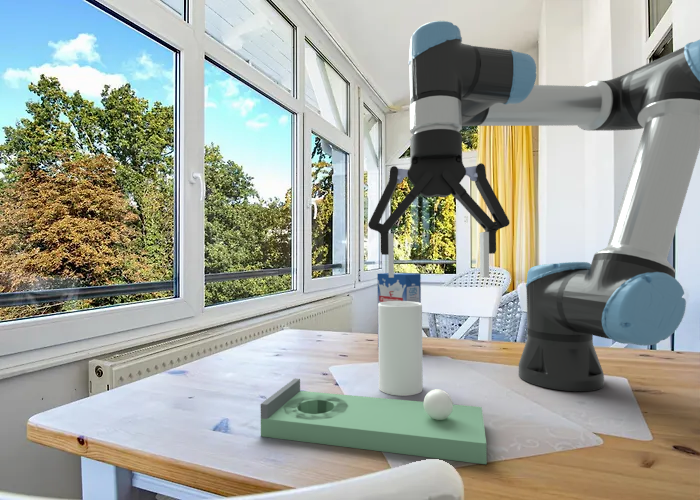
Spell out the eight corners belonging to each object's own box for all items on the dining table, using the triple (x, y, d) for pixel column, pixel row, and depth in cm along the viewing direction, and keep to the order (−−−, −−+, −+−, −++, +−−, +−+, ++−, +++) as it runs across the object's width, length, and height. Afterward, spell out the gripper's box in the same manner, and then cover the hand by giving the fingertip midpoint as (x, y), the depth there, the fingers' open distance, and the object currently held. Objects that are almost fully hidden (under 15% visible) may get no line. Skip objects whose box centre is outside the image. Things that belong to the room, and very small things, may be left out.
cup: (412, 398, 71) (411, 307, 71) (371, 390, 75) (370, 304, 76) (429, 385, 78) (428, 302, 78) (390, 379, 82) (390, 300, 83)
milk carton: (377, 347, 110) (377, 273, 111) (392, 343, 115) (392, 272, 115) (406, 353, 103) (405, 274, 103) (421, 349, 107) (420, 273, 108)
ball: (453, 414, 58) (453, 386, 58) (452, 426, 54) (452, 396, 54) (424, 412, 59) (424, 384, 59) (422, 423, 55) (422, 393, 55)
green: (481, 423, 60) (481, 393, 61) (486, 464, 49) (486, 426, 49) (294, 405, 68) (294, 378, 68) (260, 436, 57) (260, 404, 57)
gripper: (515, 137, 63) (517, 275, 63) (354, 144, 66) (356, 275, 65) (531, 122, 55) (533, 278, 55) (349, 130, 58) (351, 278, 58)
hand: (437, 277), depth 60 cm, fingers open, 13 cm apart
